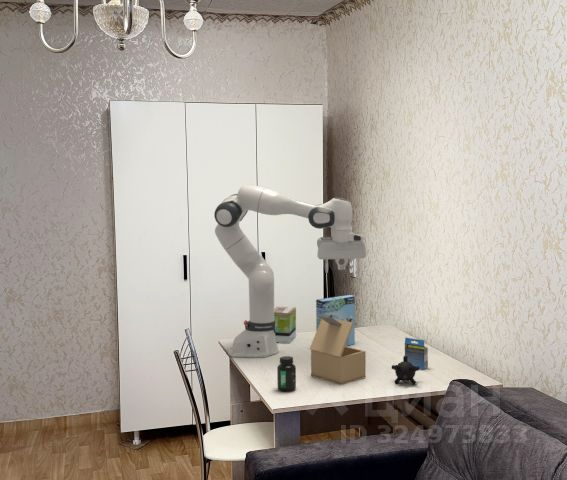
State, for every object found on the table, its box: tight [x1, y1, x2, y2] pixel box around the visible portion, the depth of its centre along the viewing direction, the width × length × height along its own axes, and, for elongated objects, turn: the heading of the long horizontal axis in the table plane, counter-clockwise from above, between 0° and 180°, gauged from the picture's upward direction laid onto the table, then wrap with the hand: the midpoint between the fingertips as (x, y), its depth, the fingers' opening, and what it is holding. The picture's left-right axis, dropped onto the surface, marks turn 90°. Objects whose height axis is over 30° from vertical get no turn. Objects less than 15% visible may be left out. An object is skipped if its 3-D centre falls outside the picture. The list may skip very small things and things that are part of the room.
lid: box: [309, 314, 354, 357], centre depth 273 cm, size 14×16×9 cm
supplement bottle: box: [276, 355, 297, 393], centre depth 264 cm, size 7×7×12 cm
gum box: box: [315, 294, 356, 347], centre depth 325 cm, size 20×5×23 cm, turn 126°
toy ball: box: [391, 354, 420, 385], centre depth 270 cm, size 11×11×12 cm
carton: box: [310, 346, 367, 386], centre depth 279 cm, size 14×16×10 cm
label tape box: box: [404, 337, 429, 370], centre depth 291 cm, size 9×4×12 cm, turn 56°
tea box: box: [274, 306, 297, 344], centre depth 341 cm, size 15×10×15 cm, turn 168°
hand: (341, 269), depth 298 cm, fingers closed
